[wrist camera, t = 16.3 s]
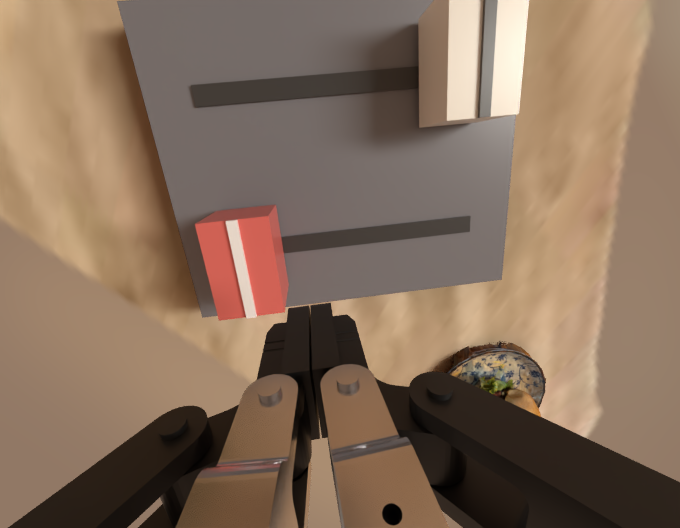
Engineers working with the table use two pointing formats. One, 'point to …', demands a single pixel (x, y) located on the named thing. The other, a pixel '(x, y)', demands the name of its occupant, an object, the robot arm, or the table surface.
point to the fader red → (244, 261)
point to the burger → (502, 373)
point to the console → (320, 142)
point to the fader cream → (470, 60)
